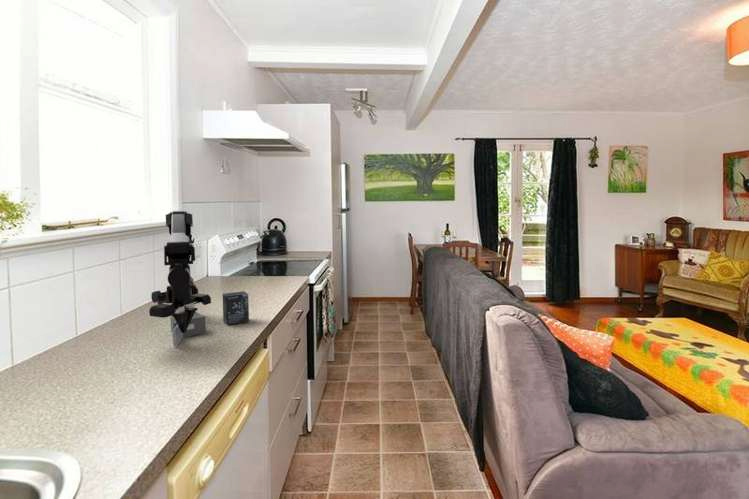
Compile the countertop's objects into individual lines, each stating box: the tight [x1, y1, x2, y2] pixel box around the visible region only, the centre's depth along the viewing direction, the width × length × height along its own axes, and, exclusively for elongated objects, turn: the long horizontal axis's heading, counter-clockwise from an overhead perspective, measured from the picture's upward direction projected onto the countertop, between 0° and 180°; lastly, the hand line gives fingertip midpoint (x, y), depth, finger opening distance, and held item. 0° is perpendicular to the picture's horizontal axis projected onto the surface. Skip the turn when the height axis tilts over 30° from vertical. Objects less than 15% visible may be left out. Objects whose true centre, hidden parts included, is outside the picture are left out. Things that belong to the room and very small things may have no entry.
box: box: [222, 290, 250, 326], centre depth 154 cm, size 8×6×11 cm
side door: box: [172, 324, 184, 347], centre depth 132 cm, size 1×9×5 cm, turn 10°
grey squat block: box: [169, 311, 207, 338], centre depth 142 cm, size 9×9×6 cm
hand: (183, 332), depth 131 cm, fingers closed
